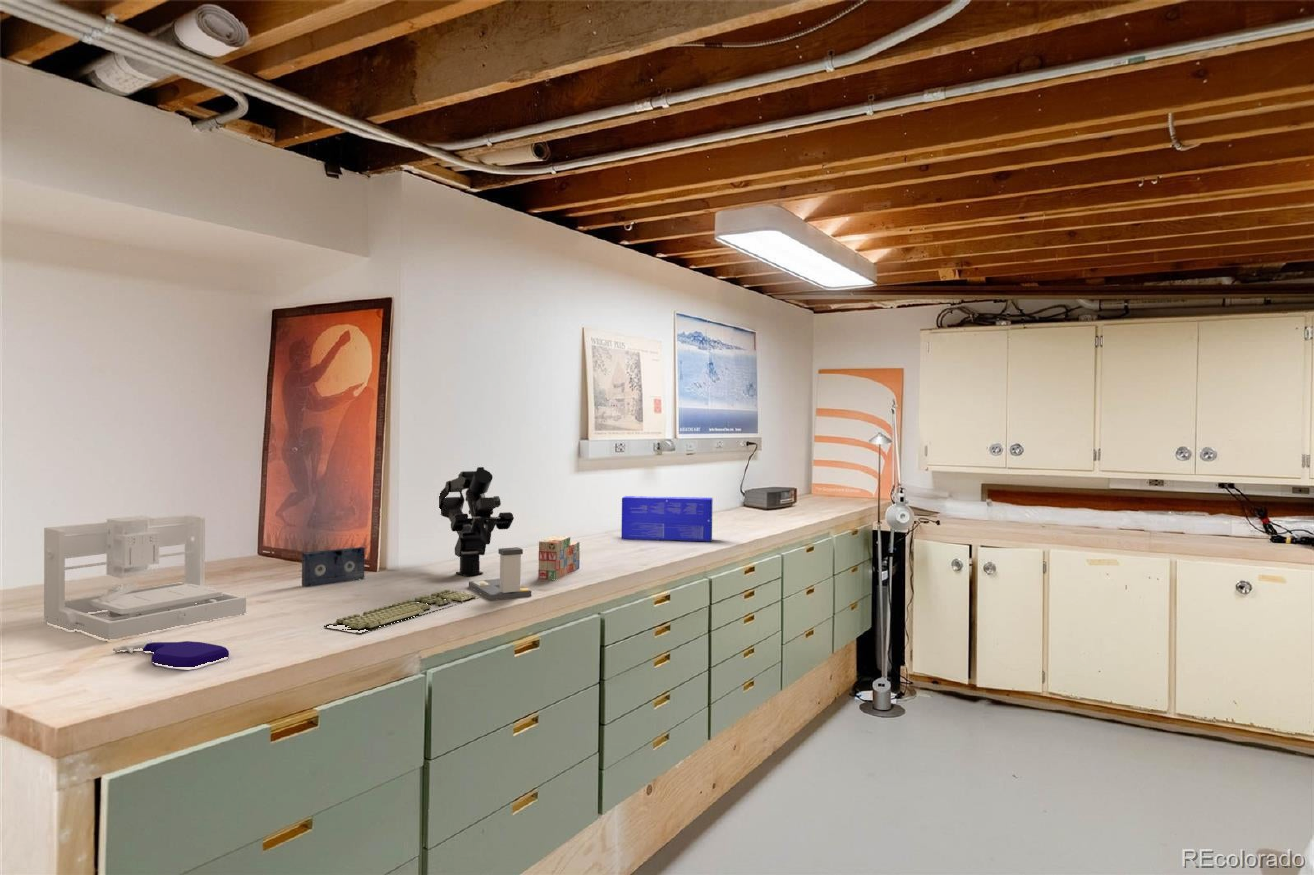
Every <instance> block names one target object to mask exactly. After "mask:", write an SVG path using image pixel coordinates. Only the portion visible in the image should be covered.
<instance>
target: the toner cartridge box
mask: <svg viewBox="0 0 1314 875" xmlns="http://www.w3.org/2000/svg"><path fill="white" fill-rule="evenodd" d="M713 501H714V499H713V497H701V496H700V497H699V496H698V497H695V496H694V497H693V496H692V497H690V496H642V495H641V496H639V495H638V496H637V495H625V496H623V497H622V498H621V530H620V531H621V535H620V536H621V539H622V540H633V541H634V540H635V541H664V540H679V541H678V542H682V541H684V542H709V541H711V542H712V541H713Z"/></svg>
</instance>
